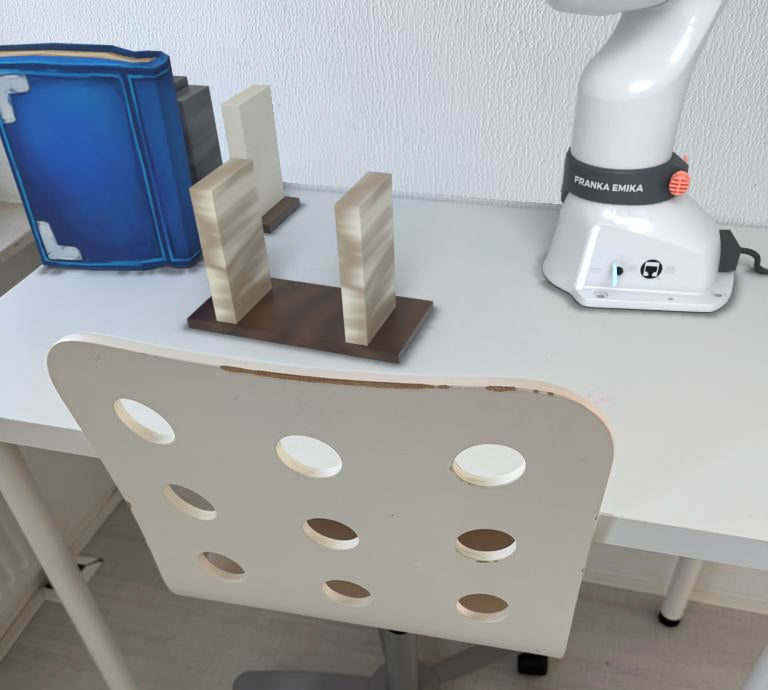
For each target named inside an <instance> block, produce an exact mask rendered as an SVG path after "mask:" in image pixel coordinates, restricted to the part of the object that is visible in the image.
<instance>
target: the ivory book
mask: <svg viewBox="0 0 768 690" xmlns="http://www.w3.org/2000/svg"><path fill="white" fill-rule="evenodd" d="M256 84H257V83H255V84H254V83H253V84H252V85H249V86H248V87H246V88H245V89H243V90H242V91H239V92H238V93H237V94H234V95H233V96H231V97H229V98H228V99H227V100H225V101H223V102H221V104H220V108H221V114H222V120H223V126H224V131H225V137H226V143H227V150H228V155H229V159H231V158H239V159H249V160H253V165H254V172H255V178H256V185H257V192H258V198H259V205H260V212H261V217H262V216H263V215H265V214H266V213H267V212H268V211H269V210H270V209H271V208H273V207H274V206H275V205H276V204H277V203H278V202H279V201H281V200H282V199H283V198H284V196H285V192H284V183H283V175H282V168H281V161H280V152H279V146H278V145H279V144H278V136H277V130H276V122H275V121H276V120H275V117H274V112H273V104H272V97H271V89H270V85H256Z"/></svg>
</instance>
